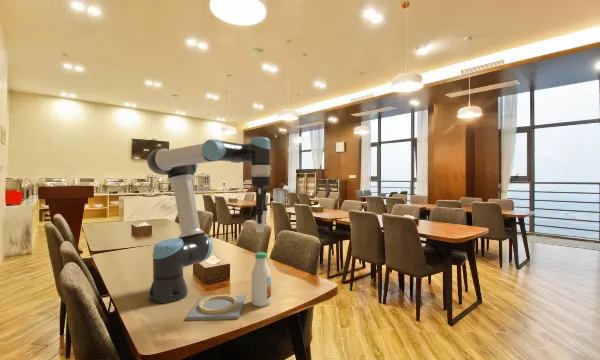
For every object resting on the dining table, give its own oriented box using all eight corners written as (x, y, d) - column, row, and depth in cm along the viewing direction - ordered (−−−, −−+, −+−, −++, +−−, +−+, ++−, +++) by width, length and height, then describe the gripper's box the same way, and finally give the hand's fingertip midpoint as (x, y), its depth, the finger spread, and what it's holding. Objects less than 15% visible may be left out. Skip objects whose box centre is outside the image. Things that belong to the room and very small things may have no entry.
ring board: (186, 320, 102) (186, 313, 102) (201, 299, 120) (201, 293, 120) (238, 318, 103) (238, 312, 103) (245, 298, 121) (245, 292, 121)
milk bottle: (262, 308, 111) (262, 256, 111) (247, 304, 116) (247, 254, 115) (274, 301, 118) (274, 252, 118) (260, 297, 122) (259, 249, 122)
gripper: (268, 175, 104) (268, 234, 104) (271, 176, 129) (272, 224, 129) (247, 175, 104) (247, 235, 104) (254, 176, 129) (255, 224, 129)
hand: (261, 229), depth 117 cm, fingers open, 13 cm apart
